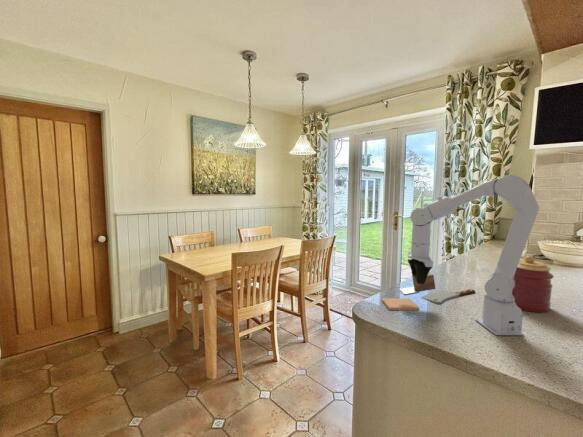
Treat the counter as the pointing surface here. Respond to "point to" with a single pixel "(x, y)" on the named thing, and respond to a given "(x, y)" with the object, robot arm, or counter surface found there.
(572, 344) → the counter surface
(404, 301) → the tile
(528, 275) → the canister
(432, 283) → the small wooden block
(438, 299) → the kitchen cleaver
